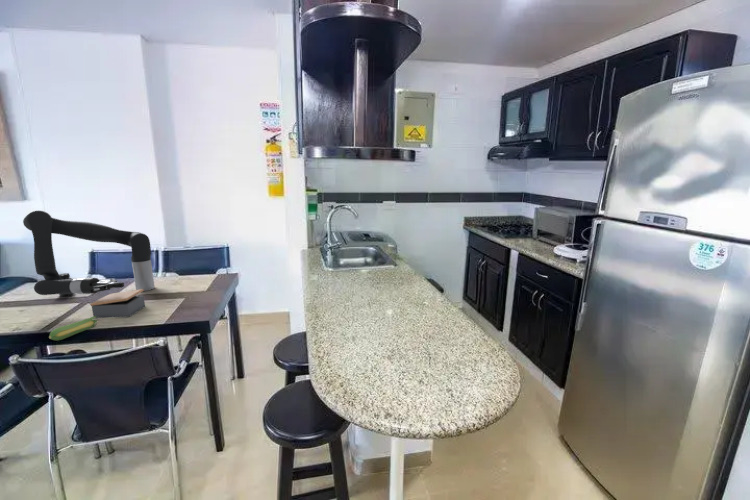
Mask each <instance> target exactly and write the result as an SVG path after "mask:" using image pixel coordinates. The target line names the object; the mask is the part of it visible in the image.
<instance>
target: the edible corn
mask: <svg viewBox="0 0 750 500" xmlns="http://www.w3.org/2000/svg"><path fill="white" fill-rule="evenodd" d="M96 317H97V316H94V317H93V316H91V317H88V318H85V319H82V320H78V321H76V322H72V323H70V324H67V325H66V324H65V325H62V326H59V327H56V328H54V329H52V330H51V331H50V333H49V336H48V338H49V339H50V340H52V341H58V342H59V341H62V340H65V339H68V338H70V337H72V336H75V335H77V334H80V333H83V332H84V331H87V330H89V329H92V328H94V327H96V326H97V322H98V321H99V320H98V319H97V318H96Z"/></svg>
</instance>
